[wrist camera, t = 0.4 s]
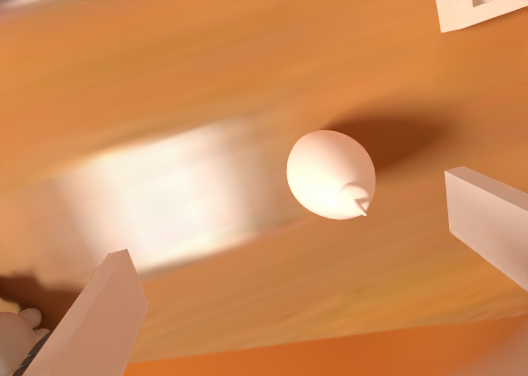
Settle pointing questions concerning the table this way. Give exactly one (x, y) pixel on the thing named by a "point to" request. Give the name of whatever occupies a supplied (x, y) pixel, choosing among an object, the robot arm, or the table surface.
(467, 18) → the tray
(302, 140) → the beige teardrop shape
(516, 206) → the robot arm
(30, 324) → the chubby cartoon animal
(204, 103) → the table surface
